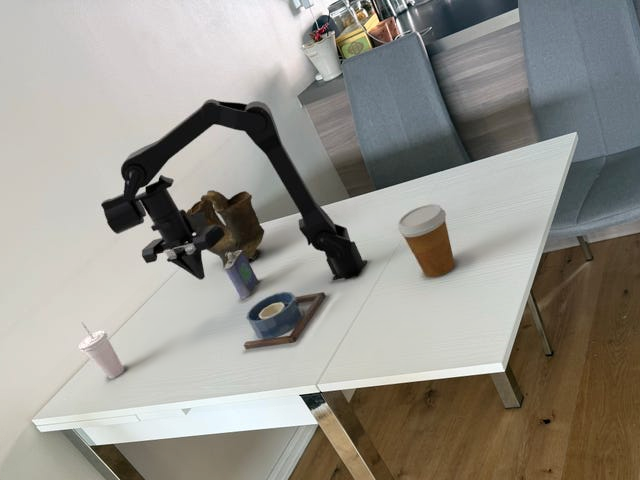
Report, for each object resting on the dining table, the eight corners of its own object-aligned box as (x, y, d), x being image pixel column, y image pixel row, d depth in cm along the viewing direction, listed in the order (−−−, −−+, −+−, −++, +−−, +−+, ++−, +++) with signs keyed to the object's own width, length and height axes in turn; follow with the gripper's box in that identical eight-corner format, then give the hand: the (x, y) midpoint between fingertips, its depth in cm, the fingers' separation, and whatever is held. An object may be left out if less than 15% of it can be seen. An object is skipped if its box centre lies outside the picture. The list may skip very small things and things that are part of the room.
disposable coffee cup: (410, 285, 135) (388, 231, 129) (425, 259, 142) (405, 208, 136) (454, 278, 131) (434, 223, 124) (468, 253, 137) (449, 199, 131)
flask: (249, 299, 160) (227, 260, 155) (238, 302, 161) (216, 263, 156) (261, 279, 167) (240, 241, 162) (250, 282, 168) (229, 245, 163)
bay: (326, 297, 145) (323, 291, 144) (295, 344, 133) (292, 338, 132) (280, 305, 151) (277, 300, 150) (246, 351, 139) (243, 345, 138)
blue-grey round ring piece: (311, 307, 144) (302, 288, 141) (291, 337, 136) (280, 318, 134) (271, 314, 149) (261, 296, 146) (248, 343, 141) (237, 324, 139)
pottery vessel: (288, 246, 179) (253, 176, 169) (262, 269, 173) (224, 198, 163) (227, 250, 195) (192, 187, 185) (201, 271, 189) (164, 207, 179)
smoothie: (113, 383, 150) (76, 332, 143) (98, 381, 154) (60, 331, 147) (134, 364, 154) (99, 314, 147) (119, 363, 158) (83, 314, 151)
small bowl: (294, 314, 143) (287, 300, 141) (284, 329, 139) (276, 316, 137) (273, 317, 146) (266, 304, 144) (262, 333, 142) (254, 319, 140)
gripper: (219, 186, 141) (253, 252, 149) (153, 205, 149) (189, 266, 157) (191, 211, 132) (229, 279, 140) (123, 229, 141) (162, 292, 149)
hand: (202, 278), depth 147 cm, fingers closed
